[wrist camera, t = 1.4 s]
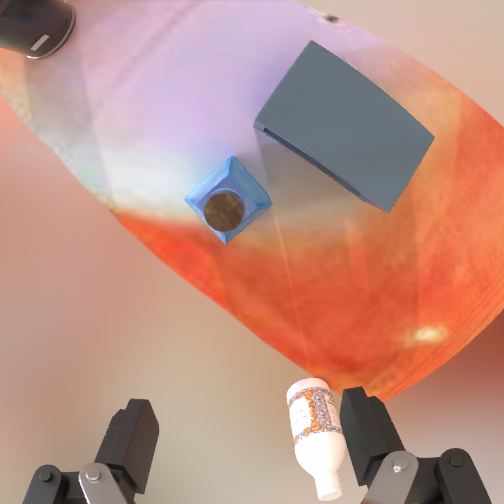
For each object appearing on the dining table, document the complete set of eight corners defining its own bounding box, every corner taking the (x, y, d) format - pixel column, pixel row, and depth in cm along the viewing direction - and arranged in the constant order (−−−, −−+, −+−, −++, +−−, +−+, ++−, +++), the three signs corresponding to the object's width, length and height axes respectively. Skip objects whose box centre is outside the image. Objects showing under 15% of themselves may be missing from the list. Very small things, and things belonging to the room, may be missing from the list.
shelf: (253, 126, 34) (254, 119, 26) (298, 60, 31) (311, 39, 24) (363, 201, 36) (388, 213, 29) (403, 137, 34) (435, 137, 27)
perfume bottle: (268, 195, 36) (278, 216, 25) (228, 229, 37) (221, 264, 26) (233, 155, 35) (226, 157, 23) (193, 191, 36) (169, 209, 24)
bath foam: (306, 369, 44) (333, 479, 25) (337, 386, 46) (370, 487, 27) (277, 396, 46) (289, 503, 27) (308, 411, 47) (328, 510, 28)
